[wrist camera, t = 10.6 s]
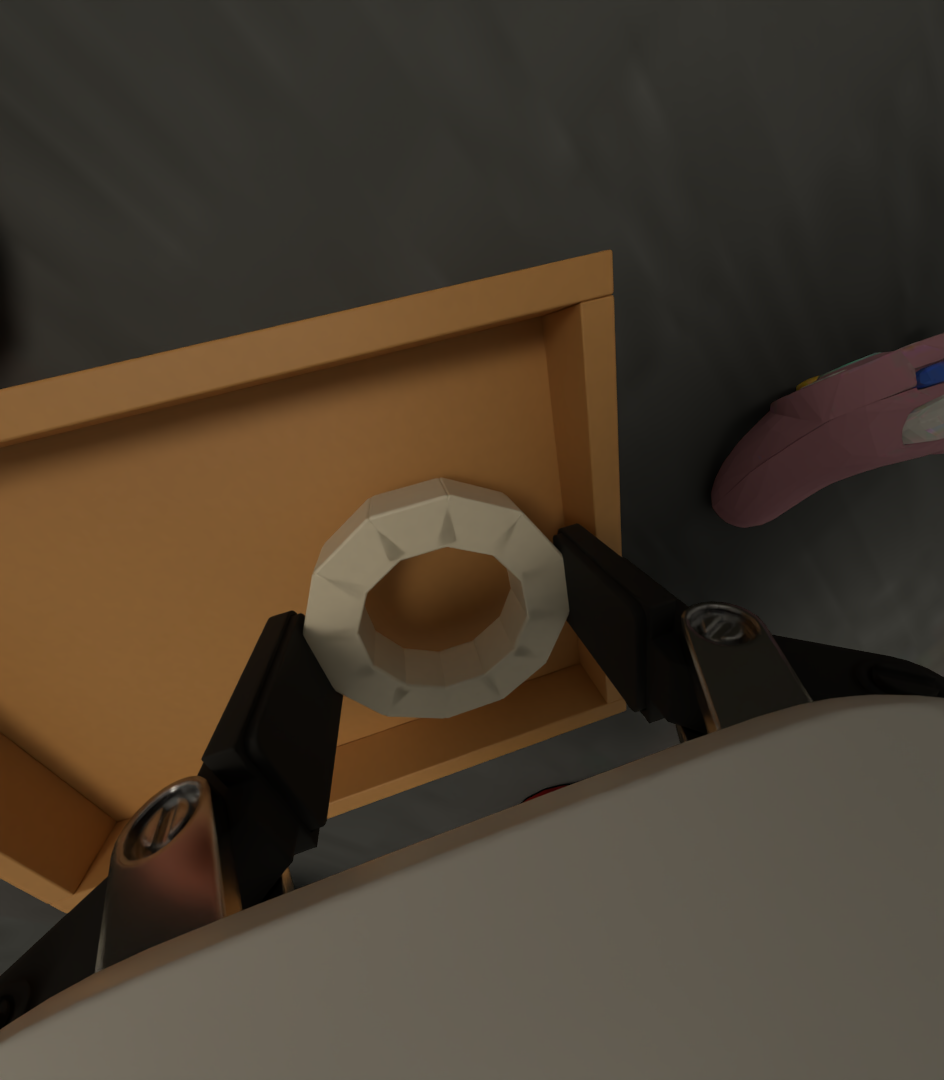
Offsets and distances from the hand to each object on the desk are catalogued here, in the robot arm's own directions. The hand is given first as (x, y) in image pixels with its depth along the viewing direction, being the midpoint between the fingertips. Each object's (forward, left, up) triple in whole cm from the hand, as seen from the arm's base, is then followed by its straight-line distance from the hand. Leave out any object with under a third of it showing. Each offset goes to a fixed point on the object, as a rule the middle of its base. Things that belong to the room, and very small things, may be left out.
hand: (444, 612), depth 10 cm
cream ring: (0, 0, -1) cm, 1 cm away
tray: (0, -5, -3) cm, 6 cm away
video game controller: (-2, +15, -3) cm, 16 cm away
